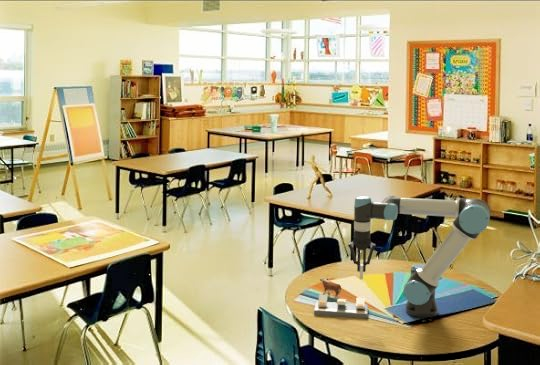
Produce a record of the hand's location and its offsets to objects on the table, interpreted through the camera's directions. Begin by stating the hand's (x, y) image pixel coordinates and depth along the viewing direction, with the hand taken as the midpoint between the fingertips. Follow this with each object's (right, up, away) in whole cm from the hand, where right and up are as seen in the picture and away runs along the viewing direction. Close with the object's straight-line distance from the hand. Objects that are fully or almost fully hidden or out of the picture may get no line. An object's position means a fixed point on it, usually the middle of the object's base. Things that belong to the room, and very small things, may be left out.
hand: (361, 277), depth 278 cm
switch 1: (-17, -12, +8) cm, 23 cm away
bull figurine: (-12, -13, +27) cm, 32 cm away
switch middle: (-9, -13, +6) cm, 16 cm away
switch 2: (0, -13, +5) cm, 14 cm away
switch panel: (-9, -17, +6) cm, 20 cm away
